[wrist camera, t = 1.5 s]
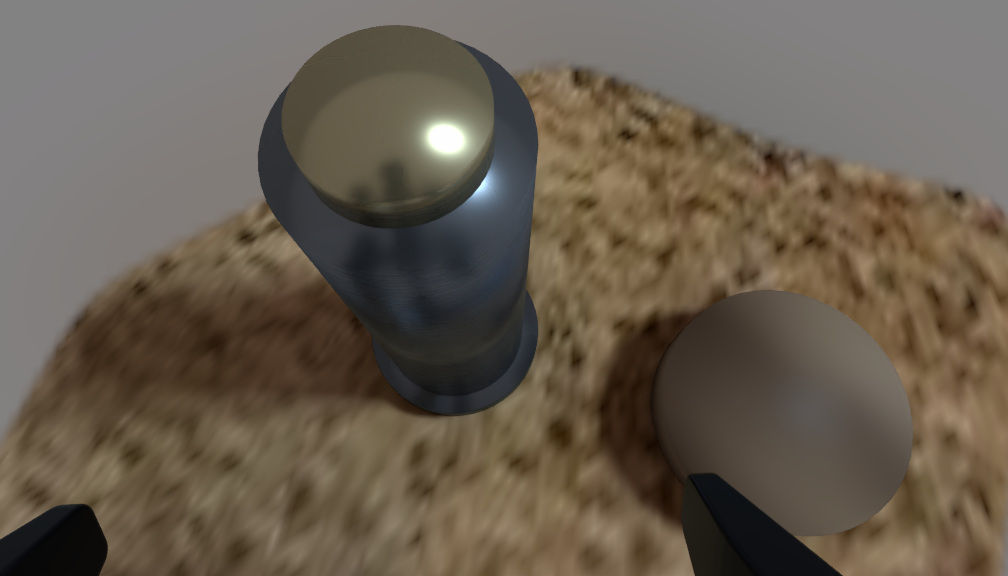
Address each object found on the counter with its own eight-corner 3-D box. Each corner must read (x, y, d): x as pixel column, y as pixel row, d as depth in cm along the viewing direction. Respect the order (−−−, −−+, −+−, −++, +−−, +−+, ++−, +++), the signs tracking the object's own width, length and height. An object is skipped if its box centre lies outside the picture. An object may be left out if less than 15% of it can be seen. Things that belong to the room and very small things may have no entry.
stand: (807, 587, 20) (839, 596, 18) (607, 428, 21) (616, 421, 20) (915, 396, 22) (953, 386, 20) (726, 268, 24) (744, 248, 22)
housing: (465, 451, 21) (397, 368, 8) (342, 345, 23) (117, 130, 10) (569, 323, 23) (651, 84, 10) (449, 232, 24) (381, -81, 11)
